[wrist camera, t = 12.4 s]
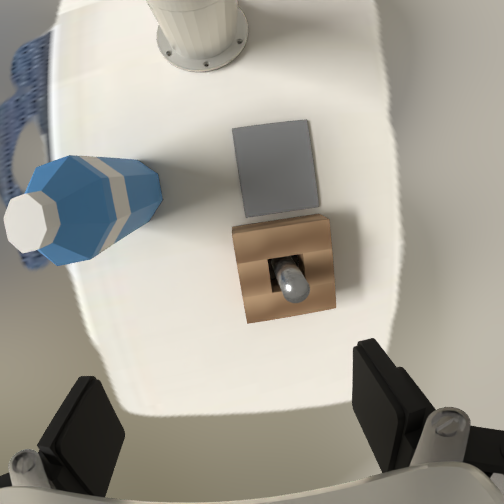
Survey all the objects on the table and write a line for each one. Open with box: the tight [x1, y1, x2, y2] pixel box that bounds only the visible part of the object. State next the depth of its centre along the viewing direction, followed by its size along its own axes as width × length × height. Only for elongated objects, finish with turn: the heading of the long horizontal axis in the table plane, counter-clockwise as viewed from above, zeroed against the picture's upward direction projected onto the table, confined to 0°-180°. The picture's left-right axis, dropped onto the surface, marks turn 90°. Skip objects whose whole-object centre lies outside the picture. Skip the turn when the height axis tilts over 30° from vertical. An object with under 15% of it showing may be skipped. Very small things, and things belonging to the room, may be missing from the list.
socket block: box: [232, 214, 336, 324], centre depth 43 cm, size 12×12×5 cm
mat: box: [232, 120, 319, 218], centre depth 42 cm, size 12×10×1 cm
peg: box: [271, 256, 310, 303], centre depth 40 cm, size 3×3×11 cm
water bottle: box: [4, 155, 163, 266], centre depth 30 cm, size 9×9×25 cm
